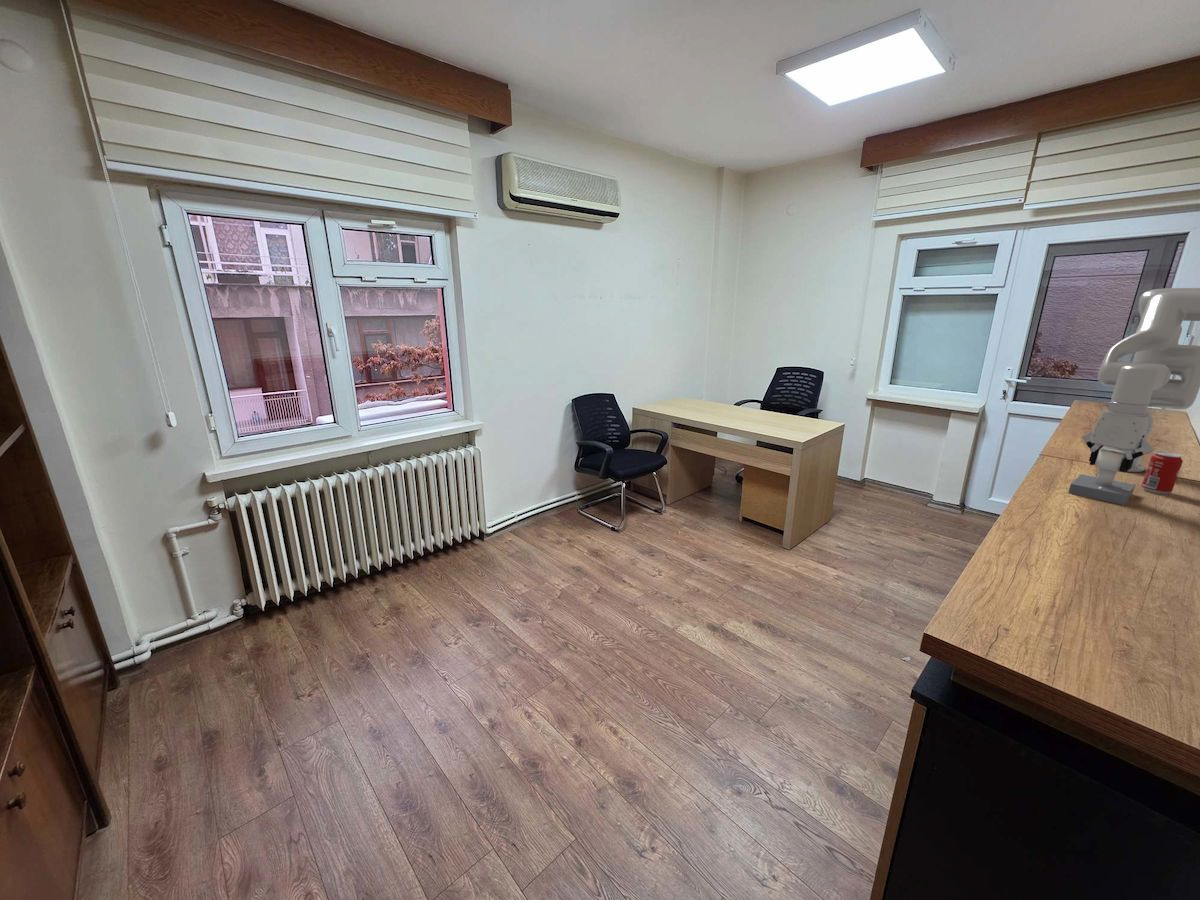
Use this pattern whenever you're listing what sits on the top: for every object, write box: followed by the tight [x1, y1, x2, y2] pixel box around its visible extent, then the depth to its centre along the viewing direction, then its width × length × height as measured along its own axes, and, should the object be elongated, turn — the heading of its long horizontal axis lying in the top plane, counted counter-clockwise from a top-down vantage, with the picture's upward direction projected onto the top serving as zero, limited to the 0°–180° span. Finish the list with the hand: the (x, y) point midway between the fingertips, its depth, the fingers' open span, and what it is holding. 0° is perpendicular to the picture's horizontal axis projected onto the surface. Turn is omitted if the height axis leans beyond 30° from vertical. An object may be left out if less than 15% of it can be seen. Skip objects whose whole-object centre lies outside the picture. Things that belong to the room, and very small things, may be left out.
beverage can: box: [1141, 451, 1184, 495], centre depth 146 cm, size 6×6×12 cm
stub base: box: [1068, 468, 1136, 506], centre depth 145 cm, size 14×12×8 cm
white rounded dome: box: [1093, 448, 1126, 472], centre depth 143 cm, size 6×6×5 cm
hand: (1108, 467), depth 144 cm, fingers open, 6 cm apart
